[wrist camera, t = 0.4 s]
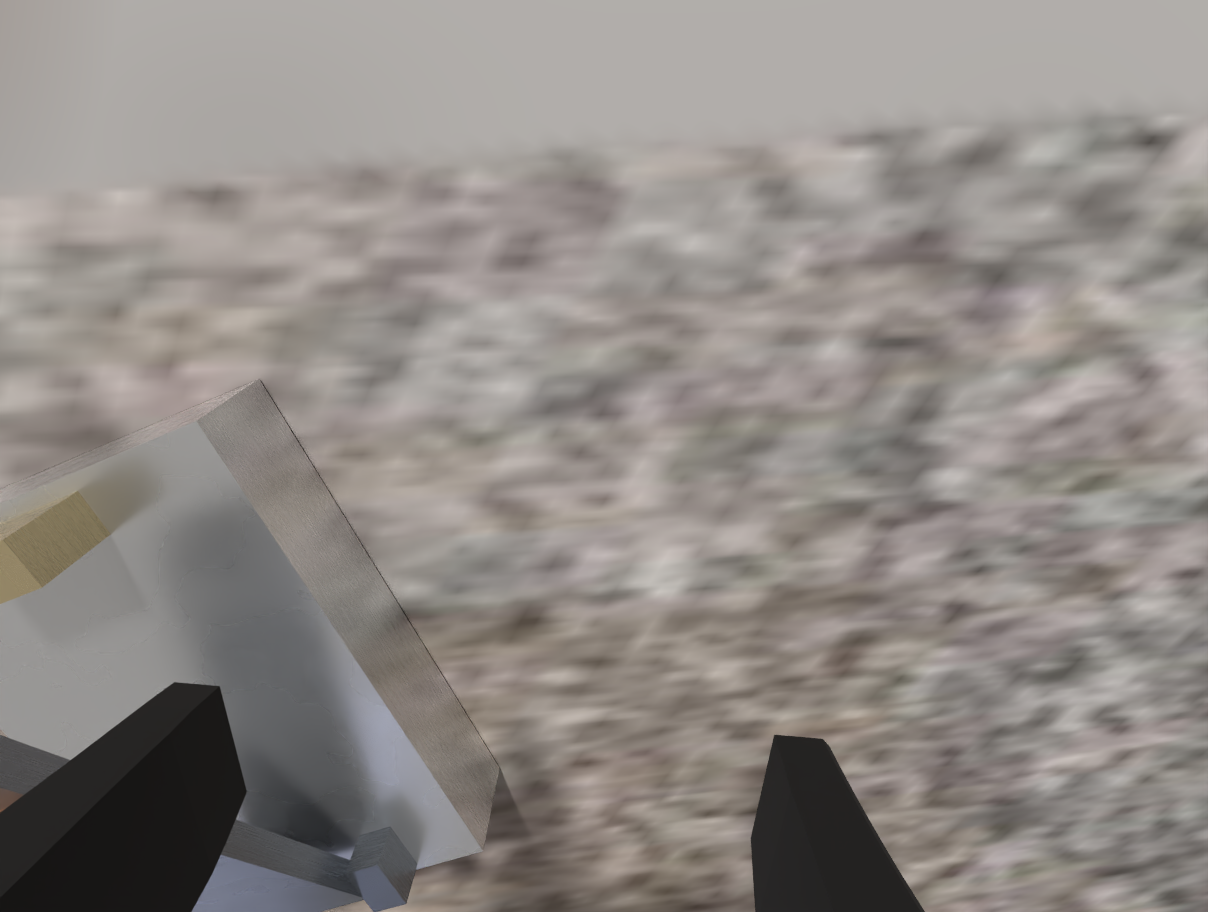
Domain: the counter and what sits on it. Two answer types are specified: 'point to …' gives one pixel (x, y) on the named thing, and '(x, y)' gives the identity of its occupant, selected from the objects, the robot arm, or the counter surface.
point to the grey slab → (246, 865)
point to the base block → (239, 636)
